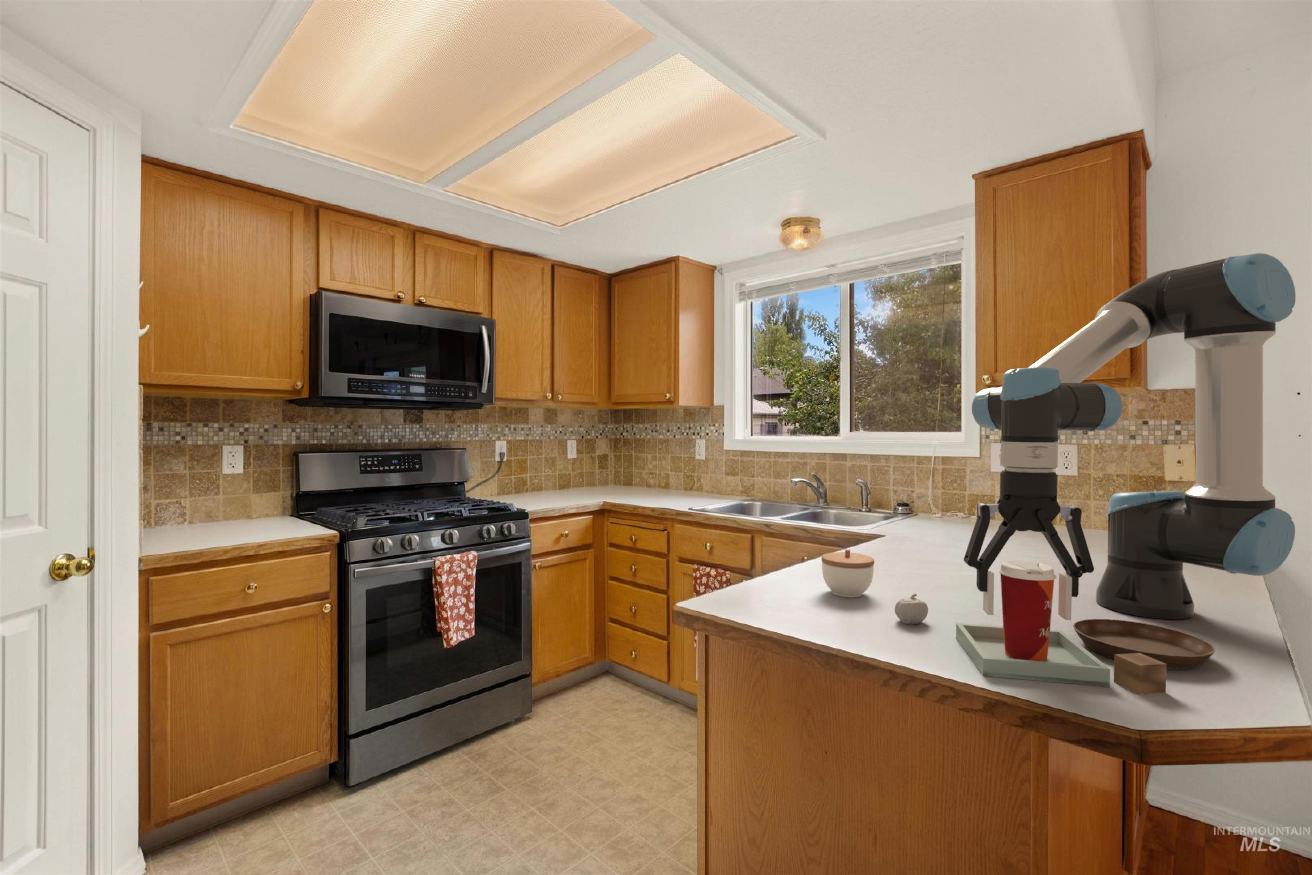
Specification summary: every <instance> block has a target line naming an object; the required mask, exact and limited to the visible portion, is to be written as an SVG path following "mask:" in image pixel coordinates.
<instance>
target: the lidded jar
mask: <svg viewBox="0 0 1312 875" xmlns="http://www.w3.org/2000/svg"><path fill="white" fill-rule="evenodd" d="M874 565H875V558H873V557H872V556H870V555H866V554H862V553H856V552H851V549H847V548H846V549H845V550H844V551H834V552H827V553H823V554H822V555H821V571H822V577H823V581H824V583H825V584H826V586H827V588H828V589H829V590H830V591H831V592H832V594H833V595H835V596H838V597H843V598H859V597H862V596H863V594H864V593H865V592H866V591H867V590H868V589H869V587H870V586H871V585H872V582H873V577H874V570H875V569H874Z"/></svg>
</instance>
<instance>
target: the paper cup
mask: <svg viewBox="0 0 1312 875" xmlns="http://www.w3.org/2000/svg"><path fill="white" fill-rule="evenodd" d="M997 571H998V573H999V574H1000V590H1001V591H1000V592H1001V612H1002V627H1003V631H1004V646H1005V654H1006V655H1007V656H1009V657H1011V658H1013V659H1019V660H1031V661H1043V662H1045V661H1046V660H1047V656H1048V647H1049V635H1050V630H1051V622H1052V610H1053V608H1052V607H1053V596H1054V585H1055V580H1056V579H1057V575H1056V574H1055V570H1054V568H1053V567H1052V566H1050V565H1047V564H1046V563H1040V562H1033V561H1027V560H1006V561H1005V560H1004V561H1002V562H1001V564H1000V568H999V569H998V570H997Z"/></svg>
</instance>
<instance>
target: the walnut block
mask: <svg viewBox="0 0 1312 875" xmlns="http://www.w3.org/2000/svg"><path fill="white" fill-rule="evenodd" d="M1113 682H1114V683H1116V684H1118V685H1119V686H1121V687H1124V688H1125V689H1127V690H1130V691H1132V692H1134V693H1136V694H1138V695H1149V694H1150V695H1151V694H1152V695H1153V694H1166V693H1167V692H1166V691H1167V669H1166V664H1165V663H1163V662H1160V661H1158V660H1156V659H1153V658H1151V657H1148V656H1146V655H1143V654H1141V653H1130V654H1114V659H1113Z"/></svg>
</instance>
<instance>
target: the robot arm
mask: <svg viewBox="0 0 1312 875" xmlns="http://www.w3.org/2000/svg"><path fill="white" fill-rule="evenodd" d="M1296 298H1297V297H1296V287H1295V284H1294V280H1293V278H1292V276H1291V274H1290V272H1289V270H1288V268H1287V267H1286V266H1285V265H1284V264H1283V262H1282V261H1280V260H1279V259H1278V258H1276V257H1275V256H1273V255H1271V254H1268V253H1260V252H1259V253H1250V254H1244V255H1243V254H1242V255H1236V256H1229V257H1226V258H1221V259H1217V260H1212V261H1209V262H1204V263H1199V264H1195V265H1191V266H1190V265H1189V266H1186V267H1181V268H1175V269H1170V270H1167V271H1163V272H1160V273H1157V274H1154V275H1153V276H1151V277H1148V278H1147V279H1144V280H1143V281H1140V282H1138V283H1137V284H1135V285H1133V286H1132V287H1130V288H1128V289H1127V290H1125V291H1123V292H1122V293H1119V295H1117V296H1116V297H1114V298H1112V299H1111V300H1110V301H1108V302H1107V303H1106V304H1104V305H1103V306H1102V307H1101V308H1099V309H1098V311H1097V312H1096V314H1095V317H1094V319H1093V320H1091V321H1090V322H1089V323H1088V324H1086V325H1085V326H1084V327H1082V328H1081V329H1080V330H1078V331H1077V332H1075V333H1074V334H1073V335H1071V336H1070V337H1068V338H1067V339H1066V340H1064V341H1063V342H1062V343H1061V344H1059V345H1057V346H1056V347H1055V348H1053V349H1052V350H1051V351H1049V352H1048V353H1047V354H1045V355H1044V356H1042V357H1041V358H1040V359H1038V360H1037V361H1036V362H1035V363H1033V364H1031V365H1030V366H1028V367H1023V368H1022V367H1020V368H1013V369H1009V370H1006V372H1005V373H1004V374H1003V376H1002V384H1001V386H1000V387H996V386H993V387H990V388H985V389H982V390H980V391H979V392H977V393H976V394H975V395H974V398H973V400H972V402H971V414H972V416H973V419H974V421H975V423H977V425H979V426H980V427H981V428H983V429H986V430H988V429H989V430H998V431H1001V432H1000V433H1001V434H1000V435H1001V437H1000V455H999V457H1000V460H999V461H1000V462H999V465H1000V466H1001V467H1002V468H1004V469H1003V470H1001V471H1000V473H999V475H1000V476H999V499H998V500H997V502H996V503H986V504H985V503H983V502H978V504H977V505H976V514H977V515H976V516H977V517H976V521H975V524H974V527H973V529H972V533H971V536H970V539H969V542H968V545H967V548H966V551H965V554H964V557H963V562H964V563H965V564H966V565H967V566H969V567H971V568H974V569H976V588H977V589H978V591H979V592H982V610H983V611H984V613H986V615H987V616H994V604H995V603H994V602H995V601H994V597H995V595H994V594H995V593H994V592H995V573H994V571H992V570H991V569H990V568H991V566H992V565H993V563H994V562H996V559H997V557H998V556H999V555H1000V553H1001V551H1002V550H1003V549H1004V547H1005V545H1006V544H1007V543H1008V541H1009V540H1010V538H1011V537H1012V536H1013V535H1014V534H1015V533H1016V531H1017V532H1027V531H1031V532H1035V533H1036V532H1037V533H1041V534H1042V535H1043V536H1044V538H1045V540H1046V541H1047V543H1048V545H1049V546H1050V548H1051V549H1052V551H1053V553H1054V554H1055V557H1056V558H1057V559H1058V561H1059V563H1060V564H1061V566H1062V568H1063V569H1064V571H1065V572H1058V607H1057V608H1058V609H1057V610H1058V612H1057V615H1058V616H1059V617H1061V618H1062V619H1063V620H1065V621H1072V602H1073V601H1072V600H1073V598H1077V597H1078V596H1079V590H1080V589H1079V586H1080V584H1079V583H1080V578H1082V577H1083V574H1088V573H1090V574H1092V573H1093V572H1094V571H1095V566H1094V564H1093V560H1092V557H1091V553H1090V550H1089V546H1088V543H1087V540H1086V536H1085V533H1084V530H1083V527H1082V523H1081V522H1082V514H1083V512H1082V508H1080V507H1077V506H1074V505H1067V506H1066V505H1064V506H1063V505H1060V504H1059V502H1058V476H1059V475H1058V474H1057V472H1055V471H1053V470H1055V469H1057V468H1058V464H1059V463H1058V462H1059V457H1058V456H1059V431H1063V432H1064V431H1069V432H1075V431H1077V432H1080V431H1082V432H1090V433H1091V432H1095V431H1103V430H1106V429H1109V428H1111V427H1112V426H1114V425H1116V423H1117V422H1118V420H1120V418H1121V416H1122V413H1123V400H1122V397H1121V395H1120V393H1119V392H1118V391H1117V390H1116V389H1115V388H1114V387H1112V386H1110V385H1107V384H1105V383H1104V384H1103V383H1102V384H1101V383H1096V382H1093V381H1092V382H1091V381H1090V382H1083V381H1084V380H1086V379H1087V378H1089V377H1090V376H1092V374H1094V373H1095V372H1096V371H1098V370H1099V369H1101V368H1102V367H1103V366H1104V365H1105V364H1107V363H1108V362H1109V361H1111V360H1112V359H1114V358H1115V357H1117V355H1119V354H1121V352H1123V351H1124V350H1125V349H1131V348H1135V347H1138V346H1139V345H1141V344H1143V343H1145V342H1146V341H1147V340H1150V339H1152V338H1156V337H1160V336H1165V335H1170V334H1171V335H1172V334H1181V333H1183V342H1185V343H1186V344H1188V345H1189V346H1190V347H1191V348H1192V349H1194V352H1195V354H1194V355H1195V358H1194V359H1195V360H1194V362H1195V363H1194V364H1195V369H1194V370H1195V372H1194V373H1195V376H1194V378H1195V379H1194V381H1195V384H1194V386H1195V390H1194V391H1195V398H1194V399H1195V400H1194V401H1195V483H1194V484H1193V486H1192V487H1190V488H1189V489H1187V490H1185V492H1184V491H1181V490H1157V491H1131V492H1130V491H1128V492H1125V491H1124V492H1116V493H1114V494H1112V496H1110V497H1109V504H1108V511H1107V514H1106V515H1107V563H1106V567H1105V570H1104V572H1103V573H1102V576H1101V579H1100V581H1099V583H1098V586H1097V588H1096V592H1095V601H1096V603H1097V604H1098V605H1100V606H1101V607H1104V608H1107V609H1109V610H1112V611H1115V612H1120V613H1123V614H1128V615H1132V616H1138V617H1145V618H1151V619H1152V618H1153V619H1162V620H1187V619H1191V618H1193V617H1194V615H1195V604H1194V601H1193V600H1194V599H1193V597H1192V595H1191V592H1190V589H1189V587H1188V585H1187V582H1186V578H1185V576H1184V571H1183V569H1184V564H1189V565H1194V566H1197V567H1198V566H1199V567H1203V568H1209V569H1214V570H1218V571H1225V572H1226V573H1229V574H1234V575H1235V574H1240V575H1241V574H1242V575H1246V576H1247V575H1248V576H1256V577H1260V576H1266V575H1269V574H1271V573H1274V572H1275V571H1276V570H1278V569H1279V568H1280V567H1281V566H1282V565H1283V563H1284V562H1285V561H1286V560H1287V558H1288V557H1289V556H1290V553H1291V551H1292V548H1293V545H1294V542H1295V535H1296V526H1295V522H1294V521H1293V520H1292V519H1293V518H1292V516H1291V515H1290V513H1288V512H1287V511H1284V510H1283V509H1280V508H1276V495H1274V494H1273V493H1271V492H1270V491H1269V490H1268V489H1266V488H1265V486H1264V482H1263V481H1264V477H1263V475H1264V471H1263V470H1264V469H1263V468H1264V461H1263V460H1264V452H1263V451H1264V449H1263V448H1264V442H1263V441H1264V434H1263V433H1264V431H1263V429H1264V403H1263V402H1264V401H1263V400H1264V396H1263V395H1264V393H1263V392H1264V383H1263V382H1264V380H1263V379H1264V364H1263V363H1264V351H1263V350H1264V347H1263V346H1264V345H1265V343H1266V342H1267V341H1269V340H1270V339H1271V338H1272V337H1274V336H1275V335H1276V327H1277V326H1276V324H1277V323H1280V322H1281V321H1284V320H1285V319H1287V318H1289V317H1290V315H1291V314H1292V312H1293V308H1294V307H1295V304H1296ZM997 512H998V514H1000V515H1001V517H1002V518H1003V520H1002V522H1000V524H999V526H998V529H997V531H996V533H995V534H994V535H993V537H992V538H991V540H990V541H989V543H988V544H987V546H986V548H985V549H984V550H983V552H982V554H981V555H980V553H981V550H982V547H983V545H984V541H985V538H986V537H987V536H986V535H987V533H988V529H989V527H990V523H991V519H993V518H994V517H995V514H996V513H997ZM1059 514H1060V517H1061V519H1063V520H1064V521H1065V527H1066V530H1067V534H1068V536H1069V540H1070V544H1071V546H1072V551H1073V554H1074V556H1075V557H1074V558H1075V560H1074V559H1073V557H1072V555H1071V554H1070V552H1069V550H1068V549H1067V547H1066V546H1065V543H1064V542H1063V540H1062V539H1061V536H1059V533H1058V531H1057V529H1056V528H1055V526H1054V524H1053V521H1054V520H1055V519H1056V518H1057V517H1058V516H1059ZM1075 561H1076V562H1075Z"/></svg>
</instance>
